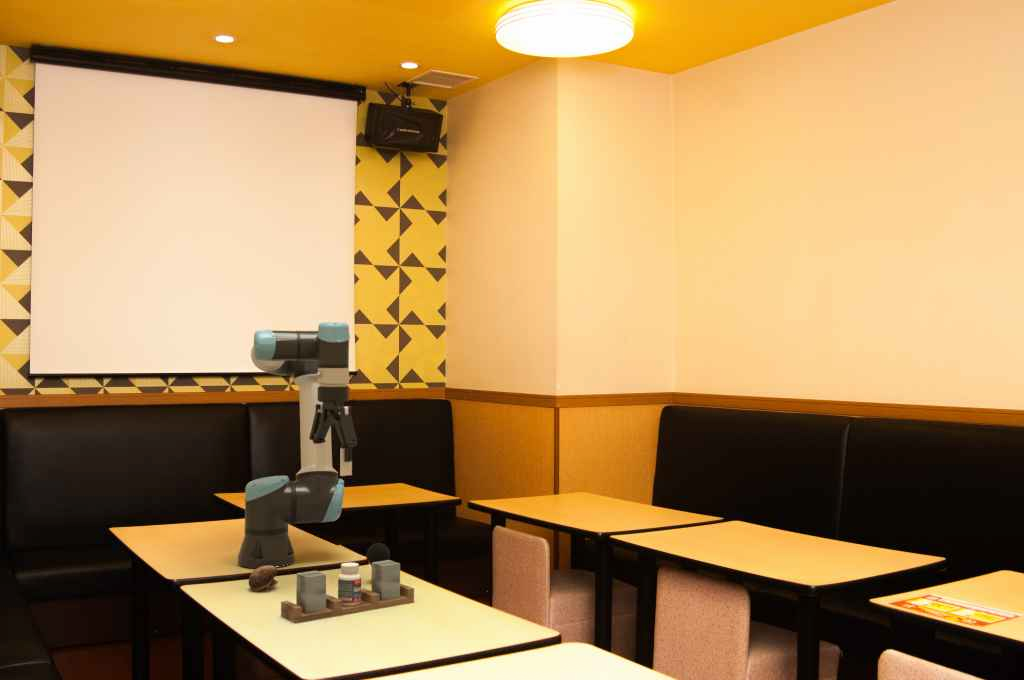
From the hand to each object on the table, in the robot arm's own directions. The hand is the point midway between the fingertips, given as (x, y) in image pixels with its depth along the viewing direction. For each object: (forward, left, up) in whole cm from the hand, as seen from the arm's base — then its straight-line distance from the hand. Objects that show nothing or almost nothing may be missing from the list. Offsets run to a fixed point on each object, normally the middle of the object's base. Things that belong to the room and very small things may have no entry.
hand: (332, 472), depth 246 cm
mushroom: (-11, -13, -29) cm, 34 cm away
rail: (+18, -5, -29) cm, 34 cm away
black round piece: (0, +13, -29) cm, 32 cm away
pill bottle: (+18, -5, -28) cm, 33 cm away
